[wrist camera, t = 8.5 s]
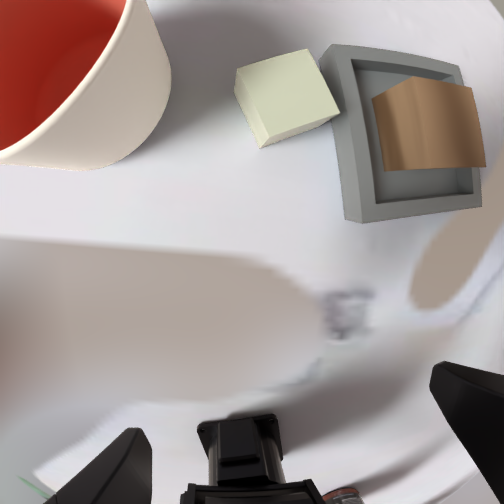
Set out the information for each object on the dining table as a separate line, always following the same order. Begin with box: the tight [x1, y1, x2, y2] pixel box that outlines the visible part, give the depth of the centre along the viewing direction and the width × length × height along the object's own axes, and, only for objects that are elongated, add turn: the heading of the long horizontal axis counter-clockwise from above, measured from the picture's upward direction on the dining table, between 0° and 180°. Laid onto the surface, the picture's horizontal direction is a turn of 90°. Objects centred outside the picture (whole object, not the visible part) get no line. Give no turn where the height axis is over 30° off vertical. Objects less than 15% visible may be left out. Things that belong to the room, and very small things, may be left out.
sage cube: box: [234, 49, 340, 149], centre depth 15 cm, size 4×4×4 cm
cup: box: [0, 0, 171, 171], centre depth 11 cm, size 10×10×10 cm
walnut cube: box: [372, 76, 486, 172], centre depth 15 cm, size 5×5×5 cm
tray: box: [319, 44, 482, 224], centre depth 17 cm, size 11×11×3 cm
